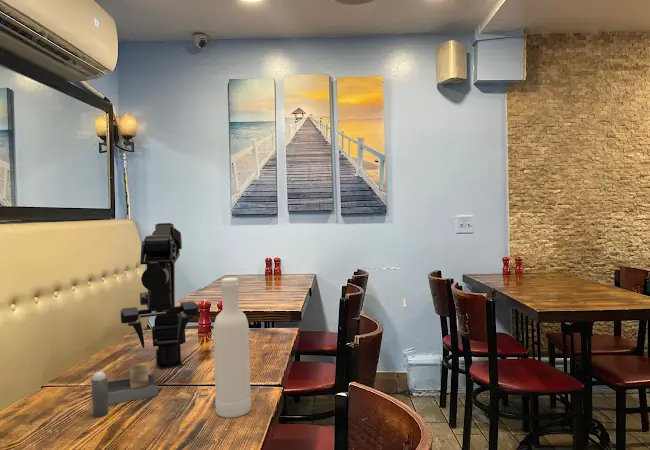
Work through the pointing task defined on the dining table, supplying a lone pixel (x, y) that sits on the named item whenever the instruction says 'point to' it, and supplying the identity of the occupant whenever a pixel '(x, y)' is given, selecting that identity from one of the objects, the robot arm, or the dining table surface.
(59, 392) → the dining table surface
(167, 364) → the robot arm
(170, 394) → the dining table surface
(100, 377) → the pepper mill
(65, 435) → the dining table surface
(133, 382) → the block
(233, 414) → the bottle
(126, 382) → the grey open tray
